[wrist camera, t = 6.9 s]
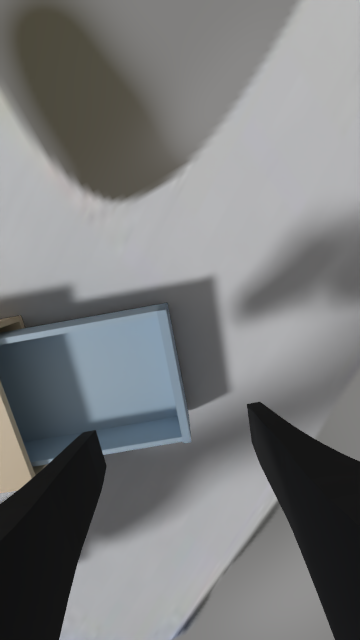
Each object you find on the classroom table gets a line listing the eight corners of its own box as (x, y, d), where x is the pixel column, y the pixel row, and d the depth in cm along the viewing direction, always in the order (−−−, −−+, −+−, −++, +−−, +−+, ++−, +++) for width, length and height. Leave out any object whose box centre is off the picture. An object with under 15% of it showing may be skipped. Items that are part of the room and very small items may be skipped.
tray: (188, 415, 21) (191, 442, 17) (-2, 447, 21) (-33, 479, 18) (167, 302, 18) (165, 309, 15) (-45, 340, 19) (-89, 355, 16)
